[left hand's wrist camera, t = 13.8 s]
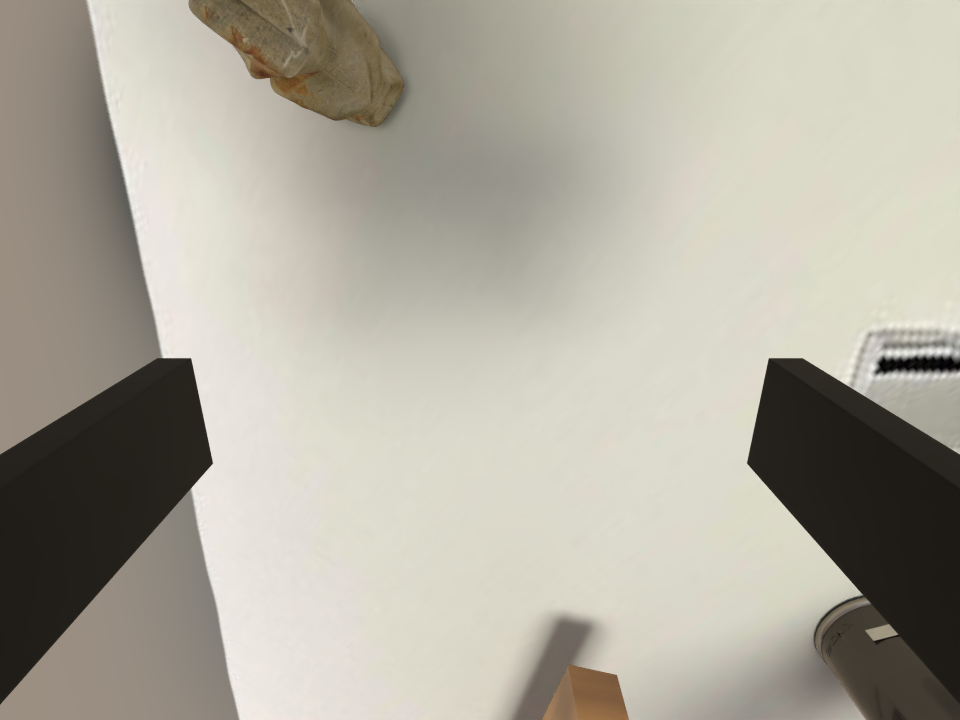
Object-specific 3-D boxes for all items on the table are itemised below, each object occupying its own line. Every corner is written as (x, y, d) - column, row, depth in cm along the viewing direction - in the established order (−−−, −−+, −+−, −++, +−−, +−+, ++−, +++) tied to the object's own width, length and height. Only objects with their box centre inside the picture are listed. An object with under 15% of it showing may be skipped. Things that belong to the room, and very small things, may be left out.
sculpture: (334, -6, 33) (228, -127, 19) (424, 77, 35) (386, 21, 21) (284, 73, 35) (152, 14, 21) (372, 149, 36) (304, 142, 22)
